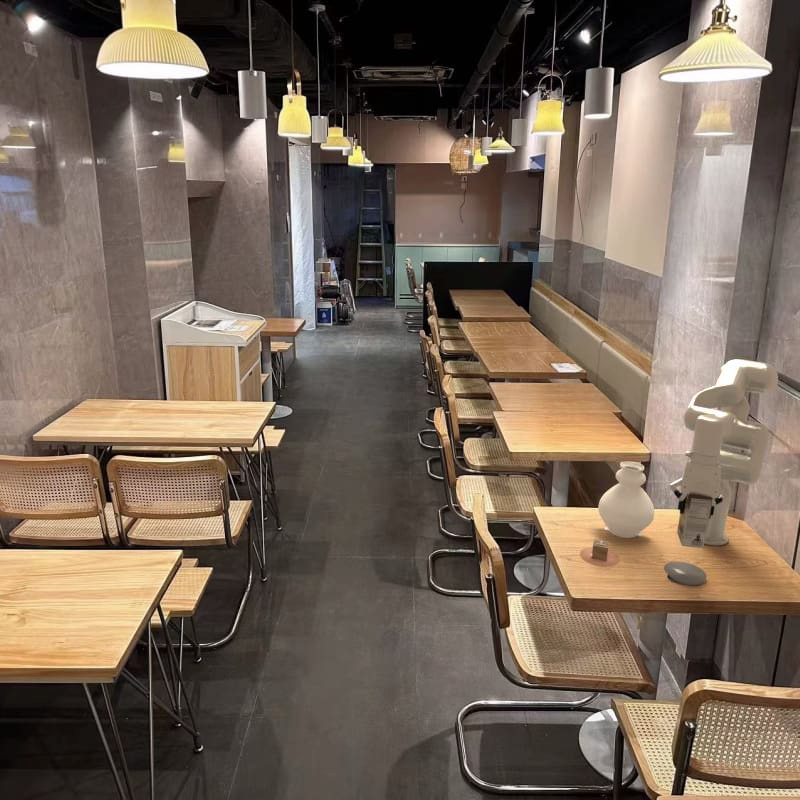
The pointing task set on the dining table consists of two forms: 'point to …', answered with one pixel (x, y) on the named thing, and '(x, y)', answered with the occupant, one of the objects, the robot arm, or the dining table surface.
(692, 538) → the coffee box
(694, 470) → the robot arm
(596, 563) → the terracotta dish
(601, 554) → the letter cube
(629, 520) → the decorative vase
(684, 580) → the charcoal dish
